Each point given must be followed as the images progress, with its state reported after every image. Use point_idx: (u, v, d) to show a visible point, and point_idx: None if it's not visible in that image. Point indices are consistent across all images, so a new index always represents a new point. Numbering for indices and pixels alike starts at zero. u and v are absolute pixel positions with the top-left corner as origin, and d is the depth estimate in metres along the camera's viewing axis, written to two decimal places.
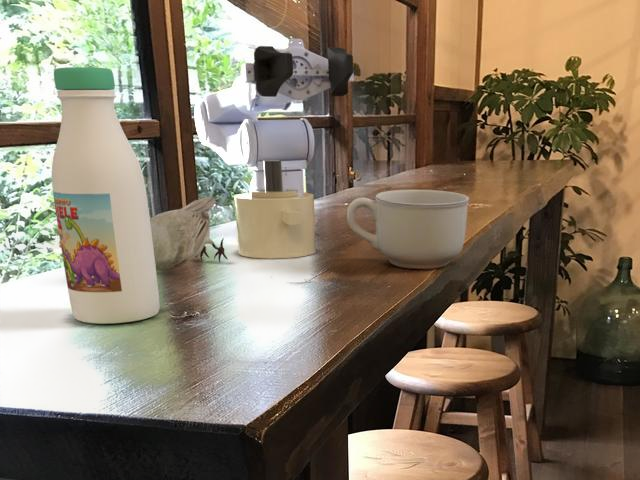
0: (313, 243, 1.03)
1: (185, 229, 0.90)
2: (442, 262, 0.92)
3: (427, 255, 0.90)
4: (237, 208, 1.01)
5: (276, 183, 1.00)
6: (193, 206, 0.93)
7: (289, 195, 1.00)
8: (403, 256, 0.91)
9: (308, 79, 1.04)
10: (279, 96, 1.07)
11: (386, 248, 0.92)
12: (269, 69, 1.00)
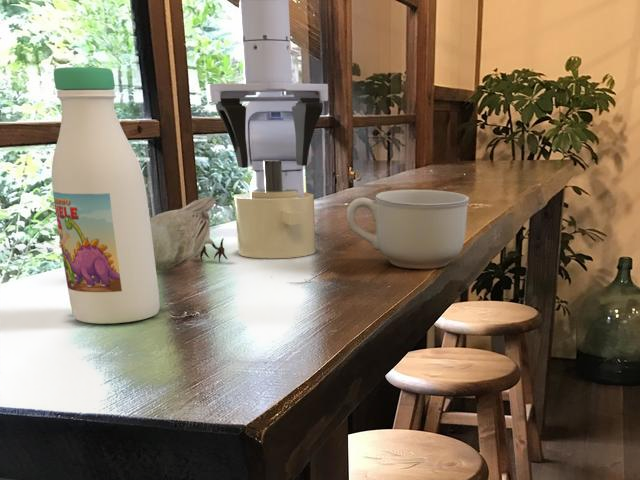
0: (313, 243, 1.03)
1: (185, 229, 0.90)
2: (442, 262, 0.92)
3: (427, 255, 0.90)
4: (237, 208, 1.01)
5: (276, 183, 1.00)
6: (193, 206, 0.93)
7: (289, 195, 1.00)
8: (403, 256, 0.91)
9: None
10: None
11: (386, 248, 0.92)
12: None
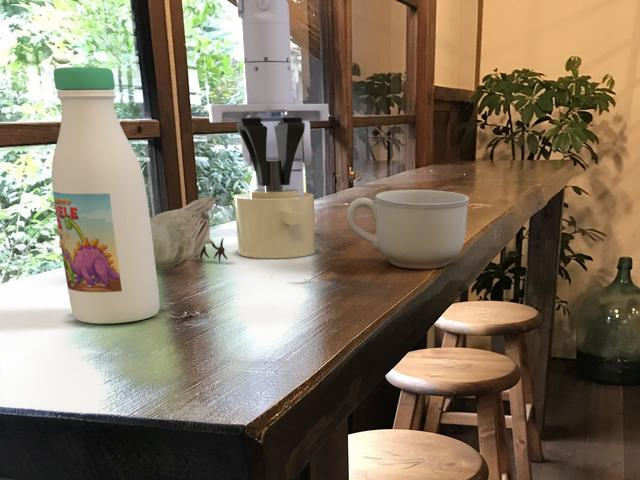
0: (313, 243, 1.03)
1: (185, 229, 0.90)
2: (442, 262, 0.92)
3: (427, 255, 0.90)
4: (237, 208, 1.01)
5: (277, 183, 1.00)
6: (193, 206, 0.93)
7: (289, 195, 1.00)
8: (403, 256, 0.91)
9: None
10: None
11: (386, 248, 0.92)
12: None
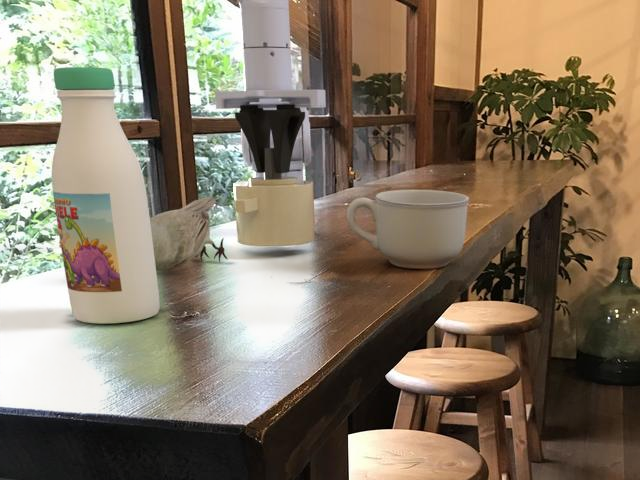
0: (291, 235, 1.00)
1: (185, 229, 0.90)
2: (442, 262, 0.92)
3: (427, 255, 0.90)
4: None
5: (268, 170, 1.00)
6: (193, 206, 0.93)
7: (269, 183, 0.99)
8: (403, 256, 0.91)
9: None
10: None
11: (386, 248, 0.92)
12: None
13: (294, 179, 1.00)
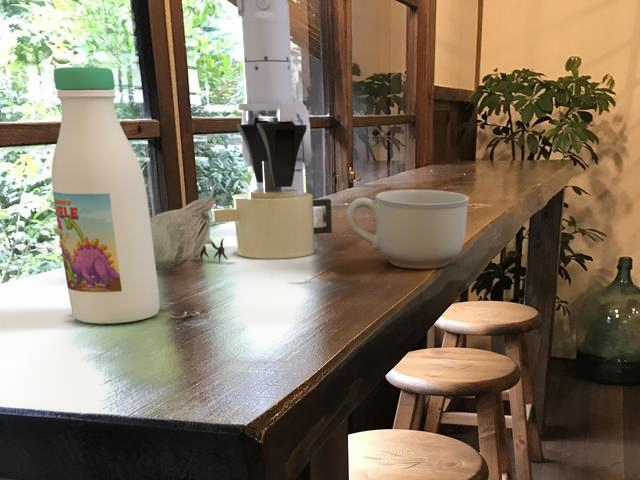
0: (263, 248, 1.00)
1: (185, 229, 0.90)
2: (442, 262, 0.92)
3: (427, 255, 0.90)
4: None
5: (264, 183, 1.01)
6: (193, 206, 0.93)
7: (255, 195, 1.00)
8: (403, 256, 0.91)
9: None
10: None
11: (386, 248, 0.92)
12: None
13: (281, 193, 0.99)
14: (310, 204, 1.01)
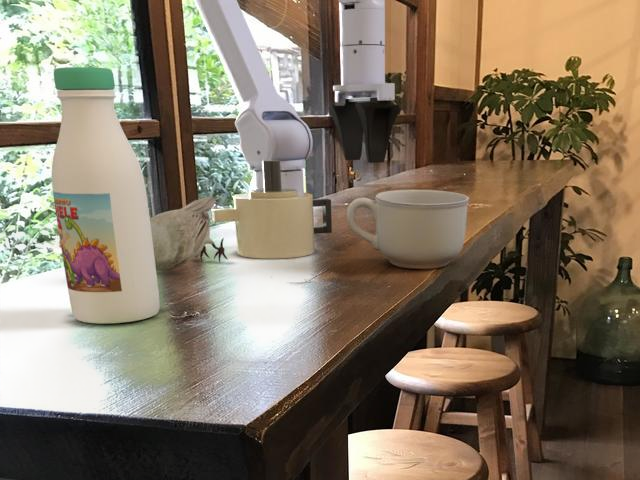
0: (263, 248, 1.00)
1: (185, 229, 0.90)
2: (442, 262, 0.92)
3: (427, 255, 0.90)
4: None
5: (264, 183, 1.01)
6: (193, 206, 0.93)
7: (255, 195, 1.00)
8: (403, 256, 0.91)
9: None
10: None
11: (386, 248, 0.92)
12: None
13: (281, 193, 0.99)
14: (310, 204, 1.01)
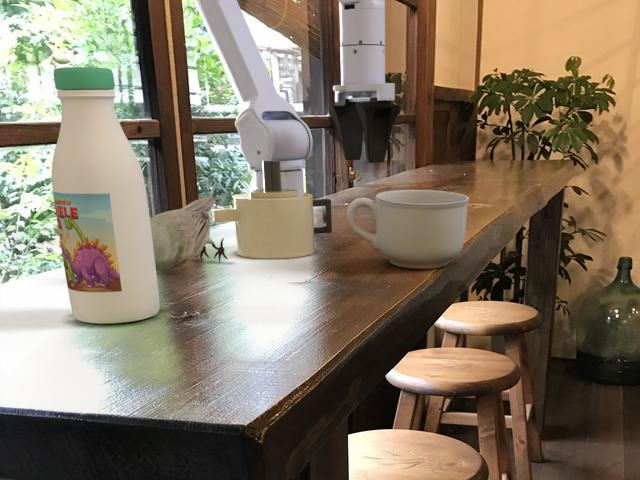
0: (263, 248, 1.00)
1: (185, 229, 0.90)
2: (442, 262, 0.92)
3: (427, 255, 0.90)
4: None
5: (264, 183, 1.01)
6: (193, 206, 0.93)
7: (255, 195, 1.00)
8: (403, 256, 0.91)
9: None
10: None
11: (386, 248, 0.92)
12: None
13: (281, 193, 0.99)
14: (310, 204, 1.01)
